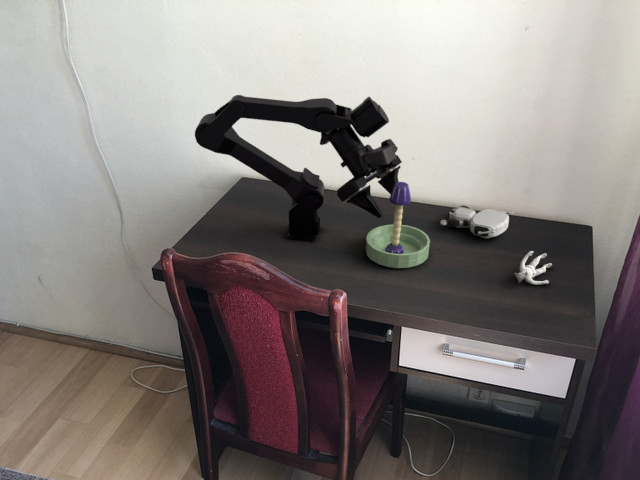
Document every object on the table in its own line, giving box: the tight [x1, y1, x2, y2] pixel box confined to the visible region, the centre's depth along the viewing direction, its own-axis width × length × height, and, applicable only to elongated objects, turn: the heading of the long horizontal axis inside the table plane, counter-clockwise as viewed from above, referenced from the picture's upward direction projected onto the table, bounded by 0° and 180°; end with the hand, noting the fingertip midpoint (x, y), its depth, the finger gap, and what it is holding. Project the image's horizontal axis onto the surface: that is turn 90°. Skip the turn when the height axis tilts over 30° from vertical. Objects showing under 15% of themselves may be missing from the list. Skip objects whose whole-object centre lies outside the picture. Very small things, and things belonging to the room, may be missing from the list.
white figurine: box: [513, 250, 553, 286], centre depth 149 cm, size 8×5×12 cm
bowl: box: [365, 223, 431, 269], centre depth 157 cm, size 14×14×4 cm
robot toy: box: [440, 205, 515, 239], centre depth 167 cm, size 12×4×15 cm
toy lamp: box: [385, 181, 412, 254], centre depth 153 cm, size 5×5×17 cm
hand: (391, 209), depth 153 cm, fingers open, 9 cm apart
